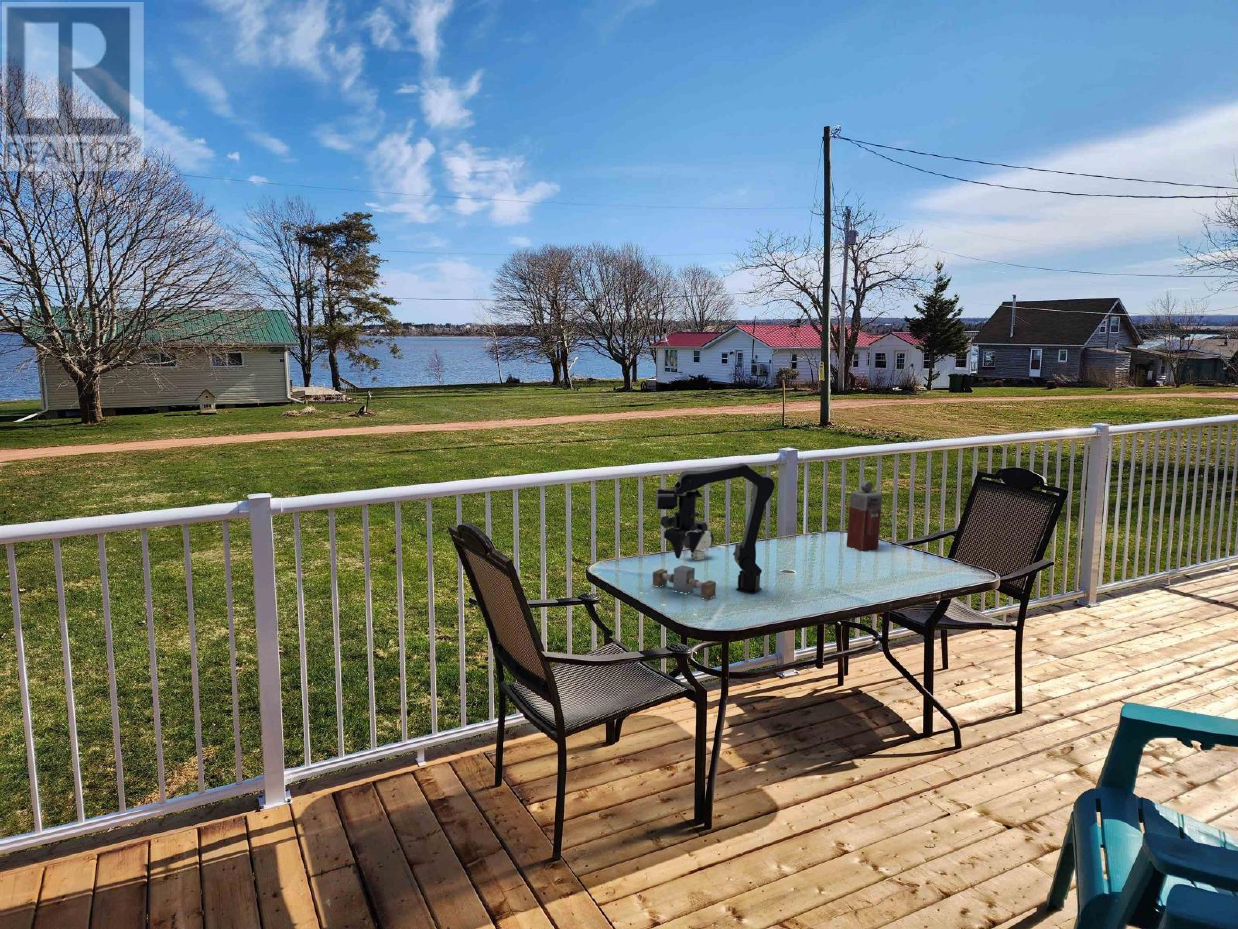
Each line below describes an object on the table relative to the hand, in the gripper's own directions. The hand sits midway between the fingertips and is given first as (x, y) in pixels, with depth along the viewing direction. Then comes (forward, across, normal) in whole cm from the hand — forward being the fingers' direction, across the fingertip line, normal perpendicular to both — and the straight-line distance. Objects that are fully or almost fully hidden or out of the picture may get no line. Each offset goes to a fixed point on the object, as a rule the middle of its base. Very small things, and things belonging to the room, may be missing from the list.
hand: (685, 555), depth 256 cm
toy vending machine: (+12, -94, +29) cm, 99 cm away
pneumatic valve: (+12, -35, -15) cm, 40 cm away
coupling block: (+12, +1, +1) cm, 12 cm away
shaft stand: (+12, +1, +1) cm, 12 cm away
